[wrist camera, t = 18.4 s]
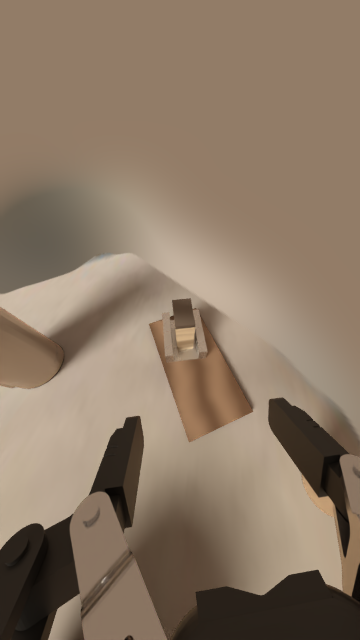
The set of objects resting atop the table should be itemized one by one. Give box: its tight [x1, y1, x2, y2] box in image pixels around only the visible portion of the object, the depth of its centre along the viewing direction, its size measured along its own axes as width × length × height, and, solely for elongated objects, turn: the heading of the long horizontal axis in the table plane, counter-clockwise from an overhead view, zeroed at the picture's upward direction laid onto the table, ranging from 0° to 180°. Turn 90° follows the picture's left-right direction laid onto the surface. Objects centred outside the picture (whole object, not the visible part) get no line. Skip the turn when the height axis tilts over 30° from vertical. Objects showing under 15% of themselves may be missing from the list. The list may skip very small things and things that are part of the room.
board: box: [149, 308, 253, 442], centre depth 32 cm, size 11×22×1 cm, turn 21°
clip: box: [162, 309, 208, 363], centre depth 33 cm, size 9×7×3 cm
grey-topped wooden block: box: [172, 298, 195, 350], centre depth 30 cm, size 5×3×9 cm, turn 6°
